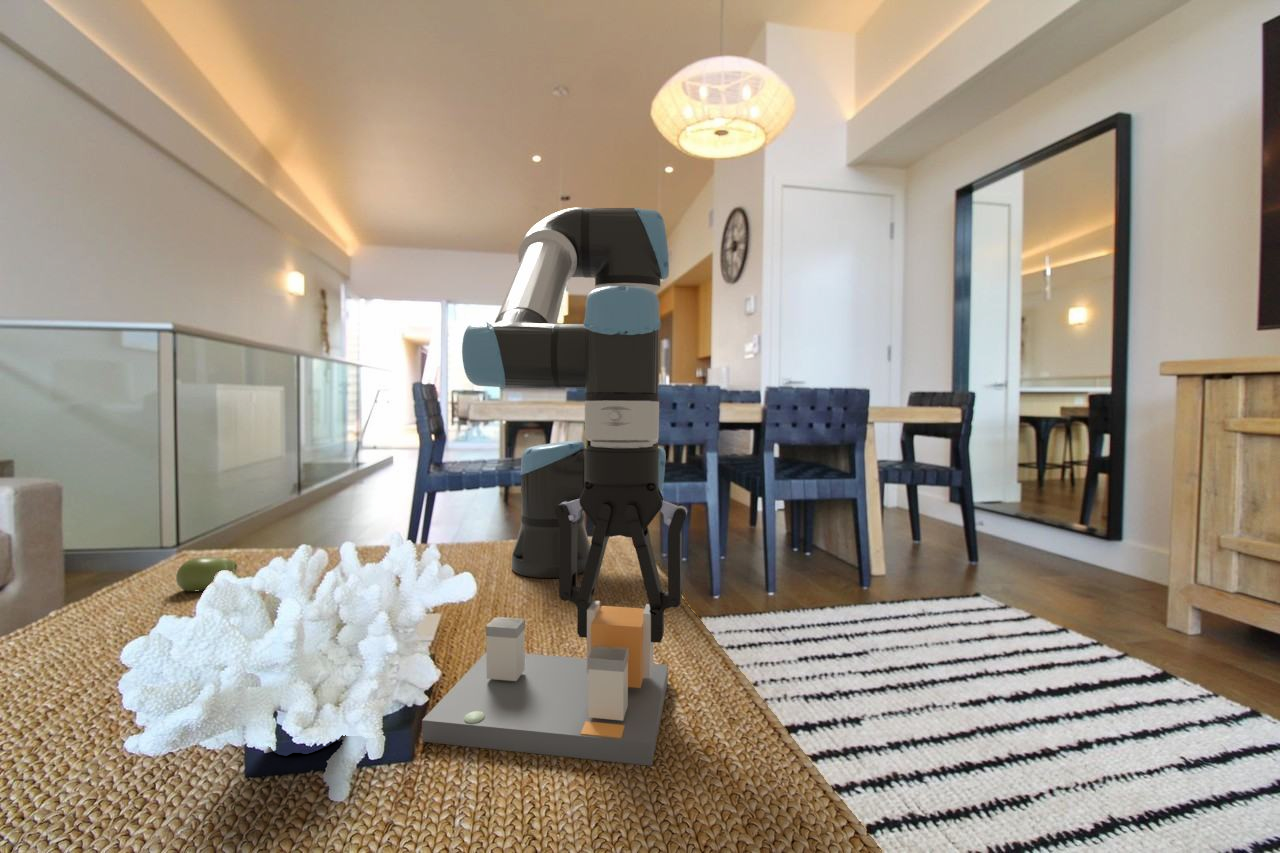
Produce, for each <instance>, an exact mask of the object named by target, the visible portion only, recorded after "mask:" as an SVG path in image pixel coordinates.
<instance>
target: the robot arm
mask: <svg viewBox="0 0 1280 853" xmlns="http://www.w3.org/2000/svg"><path fill="white" fill-rule="evenodd" d="M667 239H668V238H667V232H666V225H665V221H664V218H663V216H662V214H661V213H660V212H659V211H658V210H656V209H649V208H648V209H647V208H645V209H644V208H638V207H570V208H565V209H562V210H560V211H557V212H554V213H552V214H550V215H548V216H546V217H544V218H543V219H542V220H540V221H538V222H537V223H536V224H534V225H533V226H532V227H531V228H530V229H529V231H527V232H526V234H525V235H524V237H523V239H522V240H521V242H520V245H519V248H518V263H519V265H518V266H517V269H516V272H515V274H514V276H513V279H512V281H511V284H510V285H509V287H508V291H507V293H506V294H505V297H504V300H503V303H502V304H501V307H500V310H499V312H498V314H497V316H496V318H495V321H494V322H491V321H488V320H487V321H485V322H476V323H472V324H469V325H468V326H467V327H466V329H465V331H464V334H463V337H462V346H461V347H462V348H461V356H462V358H461V359H462V364H463V369H464V373H465V376H466V378H467V380H468V381H469V382H470V383H471V384H472V385H474V386H477V387H492V388H499V389H505V388H508V389H509V388H568V389H569V388H570V389H573V388H574V389H575V388H576V389H585V394H584V438H585V440H587V441H588V442H590V443H589V445H587V446H586V444H585V442H584V441H583V440H566V441H558V442H552V443H551V442H550V443H545V444H544V443H543V444H538V445H535V446H534V445H533V446H530V447H528V448H526V449H525V450H524V451H523V452H522V454H521V461H520V471H519V476H520V528H519V531H518V535H517V537H516V541H515V543H514V548H513V551H512V553H511V558H510V559H511V571H513V572H514V573H516V574H518V575H520V576H524V577H530V578H537V579H538V578H539V579H551V578H552V579H555V578H558V579H559V581H558V584H559V585H558V586H559V587H558V591H559V592H558V594H559V595H558V596H559V599H560V600H562V601H563V602H568V601H569V602H571V603H573V604H574V606H576V608H577V609H576V610H577V611H576V612H577V621H576V622H577V623H576V624H577V626H576V628H577V635H578V637H579V638H585V639H586V658H587V673H589V669H588V657H589V655H590V653H591V623H592V621H593V620H594V618H595V616H596V615H597V613H598V612H599V610H600V608H601V600H593V597H594V596H595V591H596V588H597V583H598V579H599V575H600V571H601V568H602V564H603V559H604V557H605V553H606V549H607V546H608V542H609V539H610V537H616V536H622V537H625V538H631V540H632V545H633V547H634V549H635V552H636V556H637V557H636V558H637V561H638V564H639V568H640V572H641V577H642V581H643V584H644V588H645V593H646V597H647V600H648V603H645V604H646V605H645V607H644V612H643V678H650V676H651V672H652V668H653V664H654V643H657V644H659V643H661V642H662V641H663V640H662V639H663V638H664V633H665V611H666V610H667V609H669V608H674V609H675V608H678V607H679V606H680V605H681V601H682V600H681V599H682V595H683V552H682V551H683V546H682V545H683V544H682V543H683V541H682V540H683V535H682V534H683V533H682V532H683V530H682V528H683V527H684V523H685V520H686V517H687V514H688V507H687V506H686V505H685V504H679V505H677V504H675V503H671V502H669V501H666V500H664V496H663V494H662V492H663V487H664V482H665V471H666V467H665V466H666V461H667V458H666V456H667V454H666V450H665V449H663V448H662V447H659V439H660V429H659V428H660V401H659V400H660V399H659V398H660V395H659V382H660V381H659V380H660V338H661V337H660V334H661V333H660V329H661V327H662V321H661V319H660V317H661V316H660V314H661V313H660V300H659V296H658V295H657V293H658V292H659V291H660V290H661V280H665V279H668V277H669V275H670V274H669V273H670V265H669V264H670V263H669V247H668V240H667ZM571 278H586V279H587V278H590V279H592V278H593V279H594V281H595V282H594V283H595V284H594V287H595V288H594V289H593V290H591V291H590V292H589V293H588V295H587V296H586V300H585V312H584V319H583V324H582V323H580V324H579V323H575V324H574V323H558V320H559V314H560V310H561V306H562V302H563V298H564V293H565V289H566V285H567V282H568V281H569V280H571ZM659 512H660V513H662V514H663V522H664V524H665V525H666V526H667V527H669V528H668V531H667V591H665V592H664V591H663V587H662V582H661V578H660V575H659V571H658V567H657V561H656V559H655V554H654V550H653V547H652V546H653V545H652V542H651V535H650V530H649V526H650V524H651V523H652V522H653V520H654V518H655V517H656V516H657V515H658V513H659ZM585 514H586V516H587V517H588V519H589V520H590V521H591V523H592V525H593V526H594V530H593V533H592V537H591V541H590V539H589V536H588V534H587V529H586V527H585V518H584V517H585ZM590 542H591V543H590ZM582 573H583V574H582ZM579 574H582V579H581V582H580V585H579V586H578V575H579Z"/></svg>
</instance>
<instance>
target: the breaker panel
mask: <svg viewBox="0 0 1280 853" xmlns="http://www.w3.org/2000/svg"><path fill="white" fill-rule="evenodd" d="M668 677H669V665H668V664H663V663H662V664H661V663H653V668H652V672H651V676H650V678H643V681H642V685H641V688H635V687H628V707H627V710H626V713H625V716H624V720H623V721H622V720H611V719H601V718H590V717H588V690H589V673H587V657H585V658H584V657H573V656H559V655H549V654H534V653H525V670H524V671H523V673H522V674H521V676H520V677H519V678H518V680H517V681H508V680H497V679H487V653H486V652H485V653H484V654H483V655H482V656H481V657H480V658H479V659H478V660H477V661H476V662H475V663H474V664H473V665H472V666H471V667H470V668H469V670H467V672H466V673H465V674H463V676H462V677H461V678H460V679H459V680H458V681H457V682H456V683H455V684H454V686H453V687H452V688H451V689H450V690H449V691H448V692H447V693H446V694H445V695H444V696H443V697H442V698H441V700H439V701H438V703H436V705H435V706H434V707H433V708H432V709H431V710H430V711H429V712H428V713H427V714H426V715H425V717H423V719H421V733H422V734H421V736H422V738H421V740H422V742H424V743H433V744H441V745H451V746H462V747H470V748H481V749H489V750H499V751H508V752H515V753H516V752H517V753H527V754H528V753H529V754H535V755H544V756H545V755H546V756H555V757H562V758H563V757H565V758H573V759H574V758H575V759H583V760H594V761H602V762H603V761H604V762H612V763H619V764H620V763H623V764H629V765H638V766H639V765H641V766H650V767H652V766H653V761H654V757H655V751H656V746H657V741H658V740H657V739H658V736H659V731H660V725H661V720H662V714H663V709H664V704H665V700H666V693H667V689H668V688H667V687H668V682H669V678H668Z"/></svg>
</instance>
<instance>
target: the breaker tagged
mask: <svg viewBox="0 0 1280 853" xmlns="http://www.w3.org/2000/svg"><path fill="white" fill-rule="evenodd" d="M628 659H629V648H616V647H603V646H594V647H593V649H592V651H591V653H590V655H589V657H588V669H589V690H588V717H590V718H601V719H611V720H622V721H623V720H624V716H625V713H626V710H627V707H628Z"/></svg>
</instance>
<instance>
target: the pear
mask: <svg viewBox="0 0 1280 853" xmlns="http://www.w3.org/2000/svg"><path fill="white" fill-rule="evenodd" d="M237 568H238V564H237V563H236V561H235V560H234V561H233V559H230V558H227V557H222V556H221V557H214V556H205V557H196V558H192V559H190V560H187V561H186V562H184V563H183V564H182V565H181V566H180V567H179V568H178V570H177V573H176V578H175V579H176V580H175V581H176V583H177V585H178V586H179V587H180V589H182V590H183V591H186V592H190V591H195V590H199V591H198V592H203V591H205V590H206V589H205V588H206V587H207V586H208V585H209V584H210V583H211V582H212V581H213V579H214V576H215V574H216V573H217V572H219V571H221V570H229V571H232V572H233V573H234V574H235V575H236V574H237ZM236 576H237V575H236ZM204 589H205V590H204ZM200 590H201V591H200Z"/></svg>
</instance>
